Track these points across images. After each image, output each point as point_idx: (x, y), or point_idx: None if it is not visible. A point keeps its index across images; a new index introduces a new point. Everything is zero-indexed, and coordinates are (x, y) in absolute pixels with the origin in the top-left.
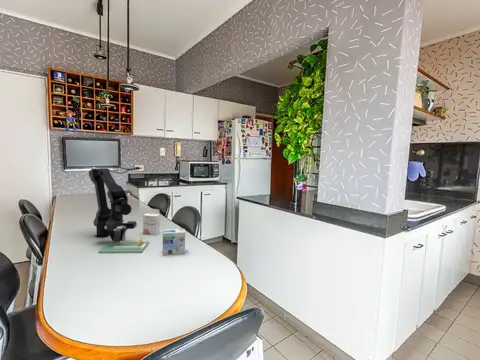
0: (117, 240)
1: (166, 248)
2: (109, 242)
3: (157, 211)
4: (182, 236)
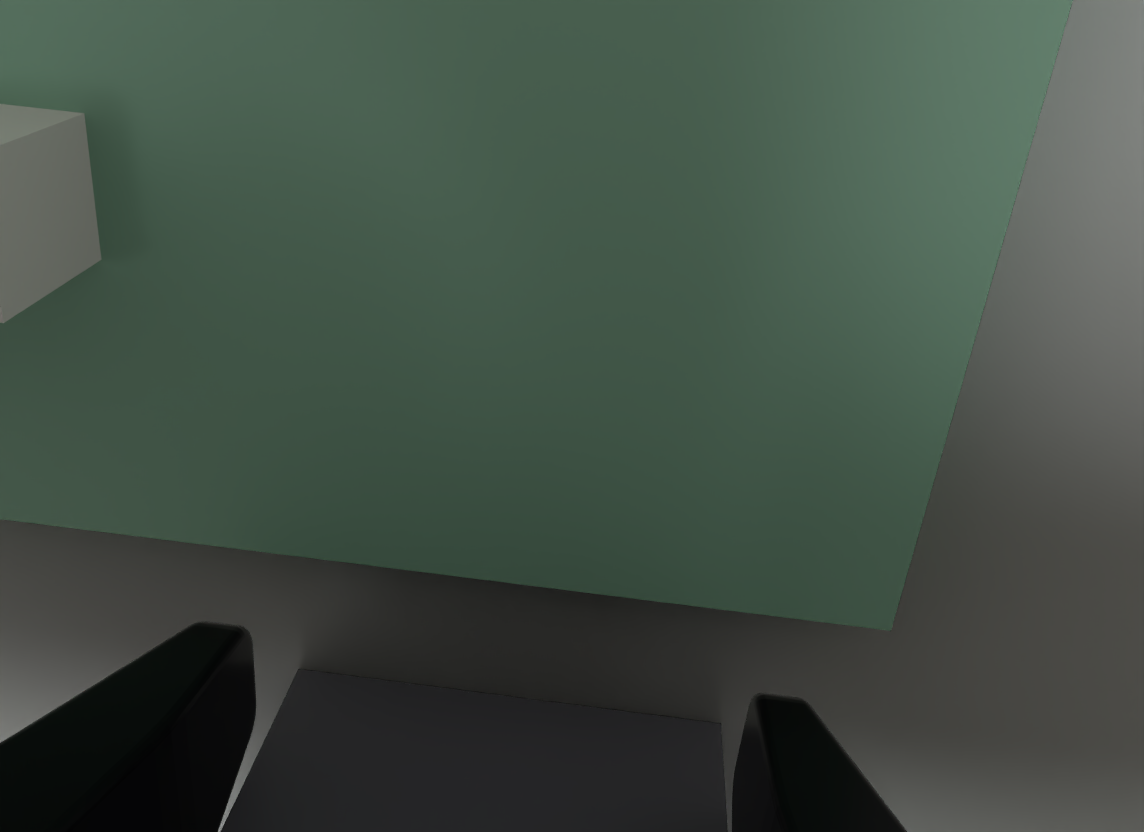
0: (509, 756)
1: None
2: (928, 477)
3: None
4: None
